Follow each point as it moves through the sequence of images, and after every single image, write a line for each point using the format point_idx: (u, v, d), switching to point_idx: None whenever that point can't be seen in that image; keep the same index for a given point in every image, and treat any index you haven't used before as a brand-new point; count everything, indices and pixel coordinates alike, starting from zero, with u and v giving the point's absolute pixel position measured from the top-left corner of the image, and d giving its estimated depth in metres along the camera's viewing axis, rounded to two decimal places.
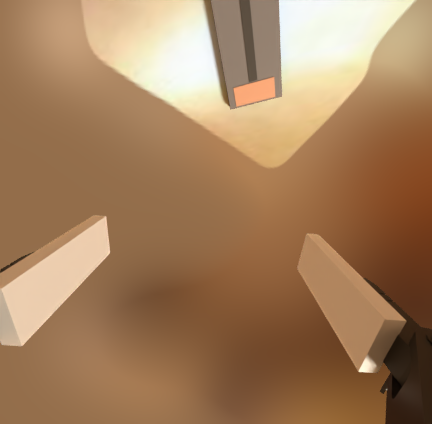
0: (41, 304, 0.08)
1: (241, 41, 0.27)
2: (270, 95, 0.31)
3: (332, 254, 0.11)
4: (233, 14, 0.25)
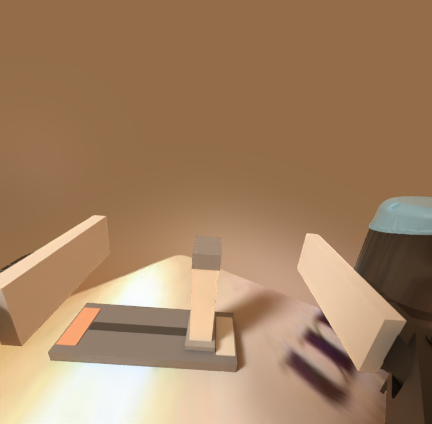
0: (41, 304, 0.08)
1: (127, 322, 0.30)
2: (61, 340, 0.27)
3: (332, 254, 0.11)
4: (147, 320, 0.31)
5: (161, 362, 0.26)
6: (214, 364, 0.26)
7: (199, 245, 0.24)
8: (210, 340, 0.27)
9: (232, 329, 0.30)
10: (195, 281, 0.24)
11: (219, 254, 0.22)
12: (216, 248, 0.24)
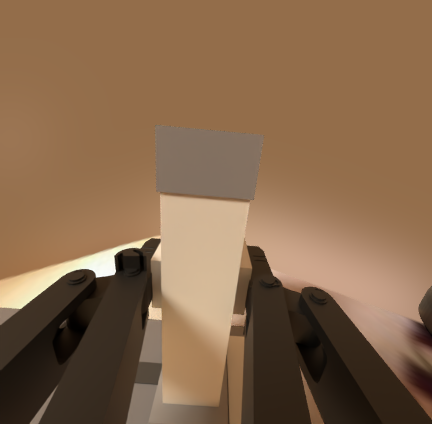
0: None
1: None
2: None
3: None
4: None
5: None
6: None
7: None
8: (216, 404, 0.11)
9: None
10: (172, 240, 0.07)
11: (256, 134, 0.06)
12: None
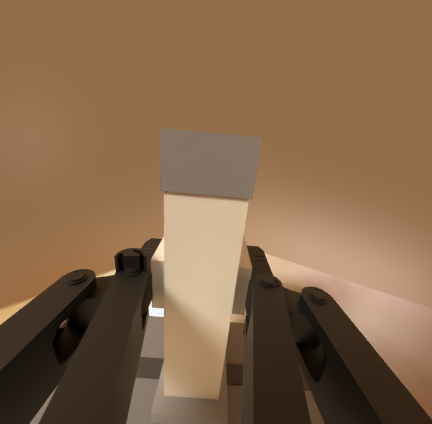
0: None
1: (144, 352, 0.14)
2: None
3: None
4: None
5: None
6: None
7: None
8: (216, 397, 0.11)
9: None
10: (174, 237, 0.08)
11: (254, 137, 0.06)
12: None
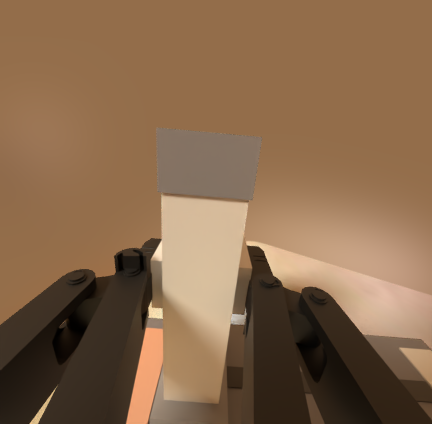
0: None
1: (235, 362, 0.14)
2: None
3: None
4: None
5: None
6: None
7: None
8: (216, 401, 0.11)
9: None
10: (172, 240, 0.07)
11: None
12: None
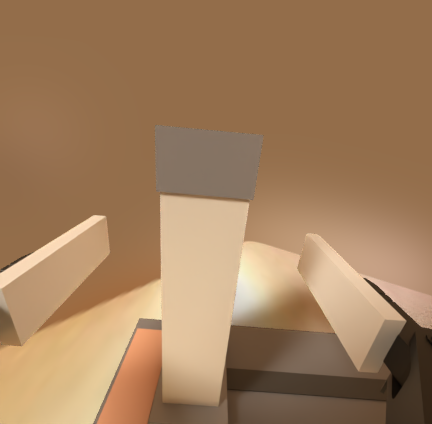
0: (41, 304, 0.08)
1: (235, 363, 0.14)
2: (105, 419, 0.11)
3: (332, 254, 0.11)
4: (273, 358, 0.15)
5: None
6: None
7: None
8: (215, 404, 0.11)
9: None
10: (171, 240, 0.07)
11: (255, 134, 0.06)
12: None
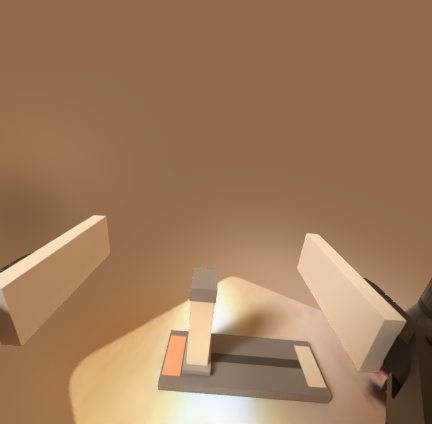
0: (41, 304, 0.08)
1: (215, 351, 0.32)
2: (165, 370, 0.29)
3: (332, 254, 0.11)
4: (232, 349, 0.33)
5: (261, 393, 0.28)
6: (310, 396, 0.28)
7: (197, 278, 0.26)
8: (206, 364, 0.29)
9: (313, 359, 0.32)
10: (193, 311, 0.26)
11: (215, 288, 0.24)
12: (212, 281, 0.26)
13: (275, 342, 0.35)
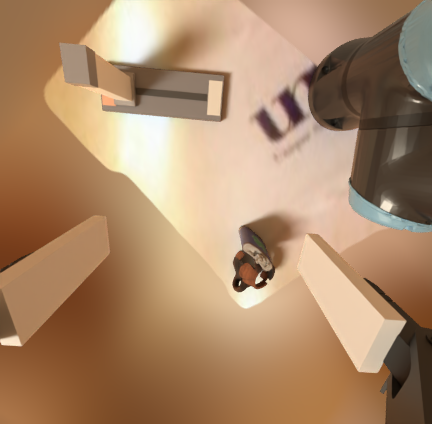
0: (41, 304, 0.08)
1: (139, 85, 0.39)
2: (104, 101, 0.40)
3: (332, 254, 0.11)
4: (154, 83, 0.39)
5: (173, 117, 0.41)
6: (206, 120, 0.41)
7: (67, 66, 0.26)
8: (130, 101, 0.39)
9: (221, 93, 0.39)
10: (87, 88, 0.30)
11: (88, 82, 0.26)
12: (84, 71, 0.26)
13: (193, 76, 0.38)
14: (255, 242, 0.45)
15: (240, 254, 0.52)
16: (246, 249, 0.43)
